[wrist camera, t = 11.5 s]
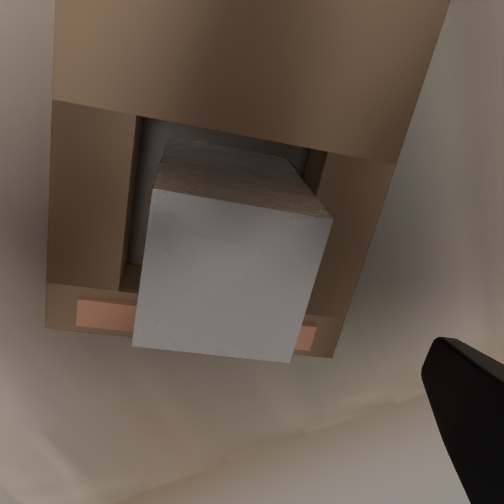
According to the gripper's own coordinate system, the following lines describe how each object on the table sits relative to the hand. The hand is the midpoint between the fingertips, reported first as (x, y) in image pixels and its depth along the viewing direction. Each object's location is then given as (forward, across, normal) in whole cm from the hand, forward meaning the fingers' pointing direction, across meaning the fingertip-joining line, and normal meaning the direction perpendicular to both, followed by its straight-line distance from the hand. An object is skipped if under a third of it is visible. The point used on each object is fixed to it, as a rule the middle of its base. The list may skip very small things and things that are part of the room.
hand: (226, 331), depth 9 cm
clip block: (+8, 0, 0) cm, 8 cm away
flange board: (+8, 0, -3) cm, 8 cm away
